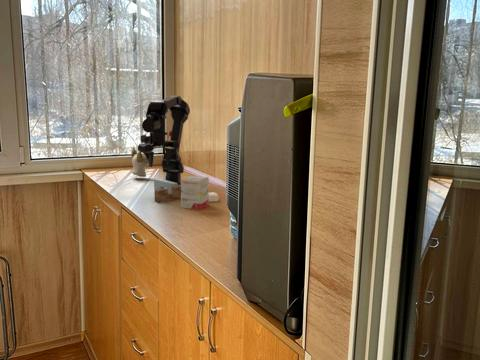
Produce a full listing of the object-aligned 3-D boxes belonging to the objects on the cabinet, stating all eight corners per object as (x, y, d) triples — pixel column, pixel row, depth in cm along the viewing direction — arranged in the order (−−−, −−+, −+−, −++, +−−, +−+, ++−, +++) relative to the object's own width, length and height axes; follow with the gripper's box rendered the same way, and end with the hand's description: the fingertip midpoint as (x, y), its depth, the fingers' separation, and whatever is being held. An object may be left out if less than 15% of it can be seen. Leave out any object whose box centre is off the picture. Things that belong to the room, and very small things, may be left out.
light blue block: (158, 189, 219) (158, 178, 218) (177, 194, 211) (177, 183, 210) (154, 190, 217) (153, 179, 216) (173, 195, 209) (173, 184, 208)
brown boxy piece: (180, 196, 208) (180, 184, 207) (184, 197, 206) (184, 185, 205) (154, 202, 197) (154, 190, 196) (158, 203, 196) (158, 191, 195)
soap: (197, 203, 199) (197, 196, 198) (194, 199, 204) (194, 192, 203) (218, 201, 201) (218, 194, 201) (215, 198, 206) (215, 191, 206)
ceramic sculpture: (153, 178, 241) (152, 148, 238) (136, 180, 236) (136, 149, 233) (144, 174, 249) (144, 145, 246) (128, 176, 245) (127, 146, 241)
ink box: (209, 205, 195) (209, 176, 192) (200, 210, 187) (200, 180, 184) (189, 203, 197) (189, 174, 195) (180, 208, 189) (180, 178, 187)
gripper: (163, 126, 223) (164, 160, 226) (129, 129, 209) (130, 165, 213) (179, 128, 216) (180, 163, 219) (145, 132, 202) (146, 169, 205)
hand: (159, 165), depth 214 cm, fingers open, 9 cm apart
